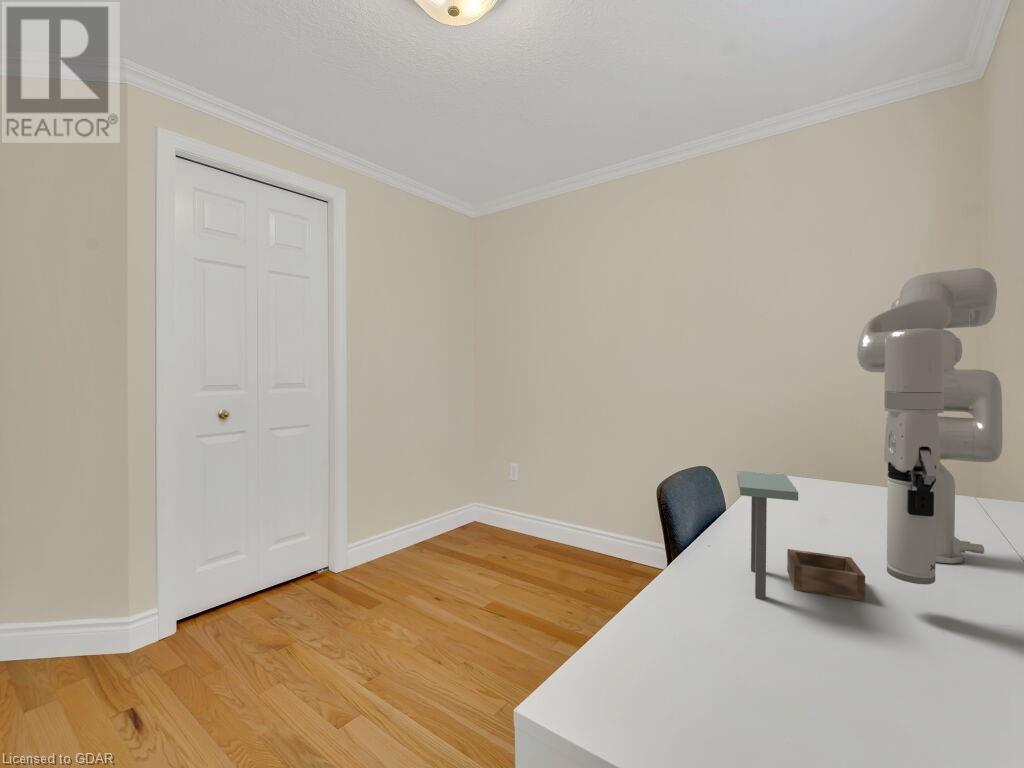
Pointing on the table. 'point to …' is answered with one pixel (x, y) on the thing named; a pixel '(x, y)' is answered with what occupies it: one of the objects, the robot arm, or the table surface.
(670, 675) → the table surface
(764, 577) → the panel
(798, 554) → the brown wooden tray
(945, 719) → the table surface
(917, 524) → the travel mug
